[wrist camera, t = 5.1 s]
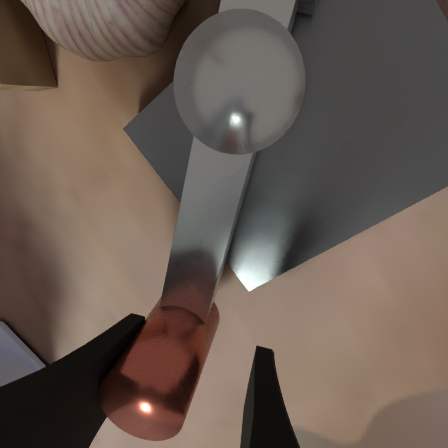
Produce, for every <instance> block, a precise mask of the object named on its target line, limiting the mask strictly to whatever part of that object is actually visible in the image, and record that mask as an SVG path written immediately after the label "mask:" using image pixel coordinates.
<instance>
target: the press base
mask: <svg viewBox="0 0 448 448" xmlns="http://www.w3.org/2000/svg"><path fill="white" fill-rule="evenodd" d="M290 34H291V35H292V37H293V38H294V40H295V42H296V43H297V45H298V47H299V50H300V52H301V55H302V58H303V62H304V68H305V92H304V97H303V101H302V105H301V108H300V110H299V113H298V115H297V117H296V118H295V120H294V122H293V124H292V125H291V126H290V128H289V129H288V130H287V131H286V133H285V134H284V135H283V136H282V137H281V138H279V139H278V140H277V141H276V142H275V143H273V144H272V145H270V146H268V147H266V148H264V149H262V150H260V151H257V152H256V156H255V159H254V163H253V166H252V170H251V173H250V177H249V180H248V184H247V187H246V191H245V194H244V198H243V201H242V205H241V208H240V212H239V216H238V219H237V223H236V226H235V230H234V233H233V237H232V240H231V244H230V247H229V251H228V254H227V258H226V262H227V264H228V265H229V266H230V267H231V269H232V270H233V271H234V273H235V274H236V275H237V276H238V278H239V279H240V280H241V282H242V283H243V284H244V286H245V287H246V288H247V289H248V291H250V290H252V289H254V288H256V287H258V286H260V285H262V284H264V283H265V282H267V281H269V280H271V279H273V278H275V277H277V276H279V275H281V274H283V273H284V272H286V271H288V270H290V269H292V268H294V267H296V266H298V265H300V264H301V263H303V262H305V261H307V260H309V259H311V258H313V257H315V256H317V255H319V254H320V253H322V252H324V251H326V250H328V249H330V248H332V247H334V246H336V245H338V244H339V243H341V242H343V241H345V240H347V239H349V238H351V237H353V236H355V235H356V234H358V233H360V232H362V231H364V230H366V229H368V228H370V227H372V226H374V225H375V224H377V223H379V222H381V221H383V220H385V219H387V218H389V217H391V216H393V215H394V214H396V213H398V212H400V211H402V210H404V209H406V208H408V207H410V206H411V205H413V204H415V203H417V202H419V201H421V200H423V199H425V198H427V197H429V196H430V195H432V194H434V193H436V192H438V191H440V190H442V189H444V188H446V187H447V186H448V21H447V19H446V17H445V15H444V13H443V12H442V10H441V8H440V6H439V4H438V2H437V0H318V1H317V4H316V7H315V11H314V14H313V15H308V14H304V13H300V12H296V16H295V19H294V23H293V26H292V30H291V33H290ZM123 129H124V131H125V132H126V133H127V134H128V136H129V137H130V138H131V140H132V141H133V142H134V143H135V145H136V146H137V147H138V149H139V150H140V151H141V153H142V154H143V155H144V156H145V158H146V159H147V160H148V162H149V163H150V164H151V165H152V167H153V168H154V169H155V171H156V172H157V173H158V174H159V176H160V177H161V178H162V180H163V181H164V182H165V184H166V185H167V186H168V187H169V189H170V190H171V191H172V193H173V194H174V195H175V196H176V198H177V199H178V200H179V202H180V203H181V198H182V193H183V188H184V183H185V178H186V173H187V168H188V163H189V158H190V153H191V148H192V143H193V138H194V135H193V134H192V133H191V132H190V131H189V130H188V128H187V127H186V125H185V124H184V122H183V120H182V118H181V116H180V114H179V111H178V108H177V105H176V101H175V96H174V81H173V82H172V83H171V84H170V85H169V86H167V87H166V88H165V89H164V90H163V91H162V92H161V93H160V94H159V95H158V96H157V97H156V98H155V99H154V100H153V101H152V102H151V103H150V104H148V105H147V106H146V107H145V108H144V109H143V110H142V111H141V112H140V113H139V114H138V115H137V116H136V117H135V118H134V119H133V120H132V121H131V122H129V123H128V124H127V125H126V126H125V127H124V128H123Z"/></svg>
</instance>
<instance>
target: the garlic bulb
mask: <svg viewBox="0 0 448 448" xmlns="http://www.w3.org/2000/svg"><path fill="white" fill-rule="evenodd" d="M21 1H22V2H23V3H24V5H25V6H26V7H27V8H28V9H29V10H30V12H31V13H32V15H33V16H34V18H35V19H36V21H37V22H38V24H39V25H40V27H41V28H42V29H43V31H44V32H45V33H46V34H47V35H48V36H49V37H50V38H51V39H52V40H53V41H54V42H56V43H57V44H58V45H60V46H61V47H63V48H64V49H66V50H68V51H70V52H72V53H74V54H76V55H79V56H81V57H83V58H85V59H89V60H92V61H97V62H106V61H112V60H115V59H117V58H119V57H122V56H135V57H144V56H148V55H151V54H153V53H155V52H156V51H157V50H159V48H160V47H161V46H162V45H163V44H164V43H165V41H166V40H167V38H168V35H169V33H170V29H171V25H172V22H173V19H174V17H175V15H176V14H177V12H178V11H179V9H180V8H181V6H182V5H183V3H184V1H185V0H21Z"/></svg>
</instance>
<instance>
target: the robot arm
mask: <svg viewBox="0 0 448 448" xmlns="http://www.w3.org/2000/svg"><path fill="white" fill-rule="evenodd" d="M144 321H145V317H144V316H140V315H137V314H133V313H131V314H130V315H128V316H127V317H125V318H124V319H122V320H121V321H119V322H118V323H116V324H115V325H113V326H112V327H111V328H109V329H108V330H106V331H105V332H103V333H102V334H100V335H99V336H97V337H96V338H94V339H93V340H91V341H89V342H88V343H86V344H85V345H83V346H81V347H80V348H78V349H76V350H75V351H73V352H71V353H70V354H68V355H66V356H65V357H63V358H61V359H59V360H57V361H56V362H54V363H52V364H50V365H48V366H46V365H45V364H44V363H43V362H42V361H41V360H40V359H39V358H38V357H37V356H36V355H35V354H34V353H33V352H32V351H31V350H30V349H29V348H28V347H27V346H26V345H25V344H24V343H23V342H22V341H21V340H20V339H19V338H18V337H17V335H16V334H15V333H14V332H13V331H12V330H11V329H10V328H9V327H8V326H7V325H6V324H5V323H4V322H2V321H0V448H89V446H90V445H91V443H92V441H93V439H94V437H95V435H96V434H97V432H98V430H99V429H100V427H101V425H102V424H103V422H104V421H105V419H106V417H107V416H106V414H105V413H104V411H103V409H102V408H101V405H100V402H99V397H98V390H99V387H100V384H101V383H102V381H103V380H104V378H105V377H106V376H107V374H108V373H109V371H110V370H111V368H112V367H113V365H114V364H115V363H116V361H117V360H118V358H119V357H120V355H121V354H122V353H123V351H124V350H125V348H126V347H127V345H128V344H129V342H130V341H131V340H132V338H133V337H134V335H135V334H136V332H137V331H138V330H139V328H140V327H141V325H142V324H143V322H144ZM240 448H300V446H299V444H298V441H297V439H296V436H295V434H294V431H293V428H292V425H291V423H290V420H289V417H288V414H287V411H286V407H285V404H284V401H283V397H282V393H281V390H280V386H279V382H278V377H277V372H276V367H275V360H274V352H273V350H272V349H268V348H264V347H260V346H256V351H255V355H254V360H253V364H252V369H251V374H250V378H249V383H248V388H247V394H246V399H245V405H244V412H243V423H242V434H241V445H240Z"/></svg>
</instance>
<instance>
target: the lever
mask: <svg viewBox="0 0 448 448" xmlns="http://www.w3.org/2000/svg"><path fill="white" fill-rule="evenodd" d="M317 1H318V0H221V2H220V7H219V12H218V13H217V14H215V15H213V16H211V17H209V18H208V19H206V20H205V21H203V22H202V23H201V24H200V25H199V26H198V27H196V28H195V29H194V31H193V32H192V33H191V34H190V35H189V37H188V38H187V40H186V41H185V43H184V45H183V47H182V49H181V51H180V53H179V56H178V59H177V62H176V66H175V71H174V96H175V101H176V105H177V108H178V111H179V114H180V116H181V118H182V120H183V122H184V124H185V125H186V127H187V128H188V130H189V131H190V132H191V133H192V134H193V135H194V138H193V143H192V148H191V153H190V158H189V163H188V168H187V173H186V178H185V183H184V188H183V193H182V198H181V203H180V208H179V213H178V218H177V223H176V228H175V233H174V238H173V243H172V248H171V253H170V258H169V263H168V268H167V273H166V278H165V283H164V288H163V293H162V297H161V298H160V299H159V301H158V302H157V304H156V305H155V307H154V308H153V309H152V311H151V312H150V314H149V315H148V317H147V318H146V320H145V321H144V322H143V324H142V325H141V327H140V328H139V330H138V331H137V332H136V334H135V335H134V337H133V338H132V340H131V341H130V342H129V344H128V345H127V347H126V348H125V350H124V351H123V353H122V354H121V355H120V357H119V358H118V360H117V361H116V363H115V364H114V365H113V367H112V368H111V370H110V371H109V373H108V374H107V376H106V377H105V378H104V380H103V381H102V383H101V384H100V387H99V390H98V397H99V402H100V405H101V408H102V409H103V411H104V413H105V414H106V416H107V417H108V418H109V419H110V420H111V421H112V422H113V423H114V424H115V425H116V426H118V427H119V428H120V429H122V430H123V431H125V432H127V433H128V434H131V435H133V436H135V437H138V438H141V439H145V440H152V441H161V440H166V439H169V438H172V437H174V436H175V435H176V434H177V433H179V431H180V430H181V428H182V426H183V423H184V420H185V418H186V415H187V412H188V409H189V406H190V404H191V401H192V398H193V395H194V392H195V389H196V387H197V384H198V381H199V378H200V375H201V373H202V370H203V367H204V364H205V361H206V358H207V356H208V353H209V350H210V347H211V344H212V342H213V339H214V336H215V333H216V330H217V327H218V325H219V312H218V309H217V306H216V305H215V303H214V300H215V296H216V293H217V289H218V286H219V282H220V279H221V275H222V272H223V268H224V265H225V261H226V258H227V254H228V251H229V247H230V244H231V240H232V237H233V233H234V230H235V226H236V223H237V219H238V216H239V212H240V208H241V205H242V201H243V198H244V194H245V191H246V187H247V184H248V180H249V177H250V173H251V170H252V166H253V163H254V159H255V156H256V152H257V151H260V150H262V149H264V148H266V147H268V146H270V145H272V144H273V143H275V142H276V141H277V140H278V139H279V138H281V137H282V136H283V135H284V134H285V133H286V131H287V130H288V129H289V128H290V126H291V125H292V124H293V122H294V120H295V118H296V117H297V115H298V113H299V110H300V108H301V105H302V101H303V97H304V92H305V68H304V62H303V58H302V55H301V52H300V50H299V47H298V45H297V43H296V42H295V40H294V38H293V37H292V35H291V34H290V33H291V30H292V26H293V23H294V19H295V16H296V12H300V13H304V14H308V15H313V14H314V11H315V7H316V4H317Z"/></svg>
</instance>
